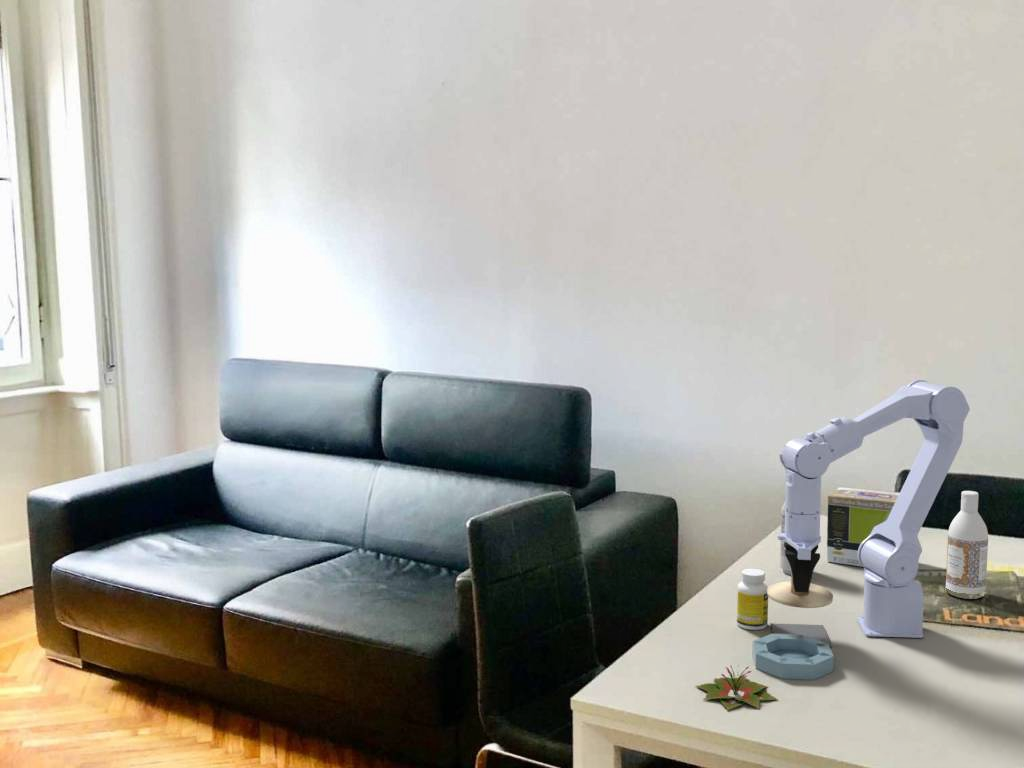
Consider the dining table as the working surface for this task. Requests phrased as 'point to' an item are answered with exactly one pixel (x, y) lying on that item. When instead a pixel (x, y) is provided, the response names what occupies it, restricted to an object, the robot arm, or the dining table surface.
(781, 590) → the lid
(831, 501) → the tea box
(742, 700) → the lily flower
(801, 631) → the mat
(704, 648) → the dining table surface
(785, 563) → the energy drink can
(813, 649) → the bowl
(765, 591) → the supplement bottle
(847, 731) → the dining table surface
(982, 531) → the bath foam
